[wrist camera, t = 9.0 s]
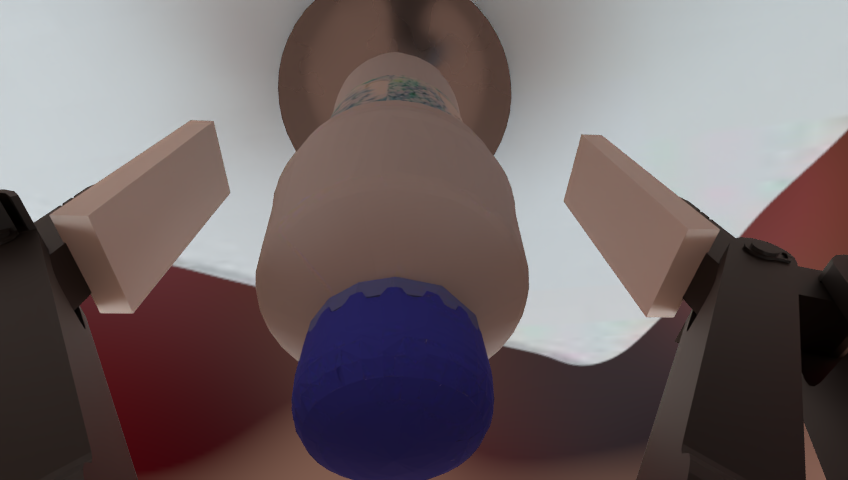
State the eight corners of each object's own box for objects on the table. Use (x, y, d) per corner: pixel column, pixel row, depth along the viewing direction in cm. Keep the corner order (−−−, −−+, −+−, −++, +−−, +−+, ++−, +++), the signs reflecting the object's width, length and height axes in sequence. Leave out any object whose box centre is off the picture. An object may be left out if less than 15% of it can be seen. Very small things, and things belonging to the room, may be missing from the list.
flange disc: (264, -38, 20) (259, -39, 19) (526, -22, 20) (531, -22, 20) (296, 202, 26) (293, 207, 26) (491, 206, 27) (493, 211, 27)
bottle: (457, 159, 25) (587, 539, 8) (348, 168, 25) (235, 572, 8) (455, 37, 21) (687, 244, 4) (326, 48, 21) (22, 303, 4)
